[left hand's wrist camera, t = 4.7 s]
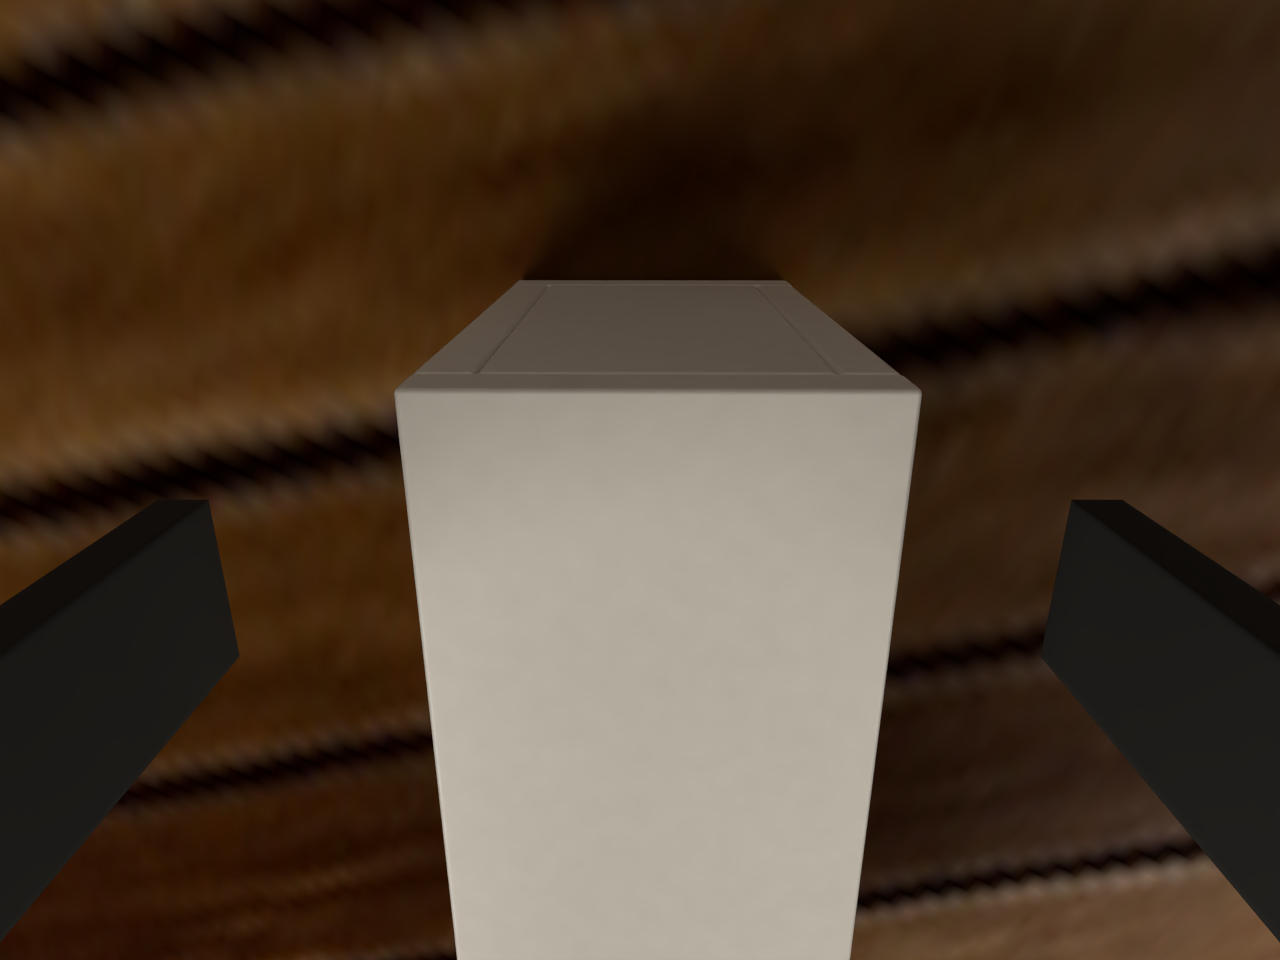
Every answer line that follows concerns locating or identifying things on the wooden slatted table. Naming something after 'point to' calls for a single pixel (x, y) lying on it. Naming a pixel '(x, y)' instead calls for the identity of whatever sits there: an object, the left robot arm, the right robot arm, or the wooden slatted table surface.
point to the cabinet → (655, 615)
